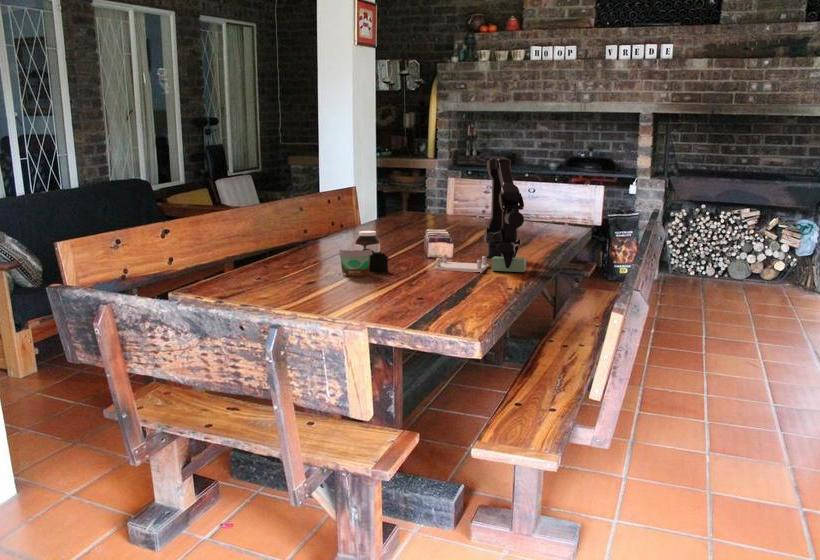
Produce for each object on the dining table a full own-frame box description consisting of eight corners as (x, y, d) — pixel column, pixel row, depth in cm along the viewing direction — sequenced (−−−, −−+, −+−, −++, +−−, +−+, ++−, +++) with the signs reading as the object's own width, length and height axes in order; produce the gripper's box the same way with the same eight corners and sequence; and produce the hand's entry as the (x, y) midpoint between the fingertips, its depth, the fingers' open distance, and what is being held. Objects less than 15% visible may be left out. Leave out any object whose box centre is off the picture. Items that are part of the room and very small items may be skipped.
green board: (494, 268, 275) (494, 256, 274) (526, 269, 271) (526, 257, 270) (491, 270, 270) (491, 258, 269) (523, 272, 266) (524, 259, 266)
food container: (340, 279, 257) (339, 251, 255) (338, 276, 263) (337, 249, 261) (375, 278, 260) (374, 250, 258) (372, 275, 266) (372, 247, 264)
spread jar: (381, 258, 302) (381, 230, 300) (377, 263, 291) (377, 234, 289) (352, 258, 304) (352, 230, 301) (347, 262, 292) (347, 233, 290)
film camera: (393, 270, 276) (393, 246, 274) (386, 275, 267) (385, 250, 265) (356, 268, 280) (355, 245, 278) (347, 273, 271) (346, 249, 269)
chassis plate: (442, 265, 284) (442, 254, 284) (488, 267, 279) (488, 256, 278) (434, 270, 273) (434, 259, 272) (481, 273, 268) (481, 261, 267)
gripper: (493, 221, 278) (492, 261, 281) (482, 227, 261) (482, 270, 264) (522, 222, 275) (521, 263, 278) (513, 228, 258) (512, 271, 261)
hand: (508, 266), depth 270 cm, fingers closed on green board, 5 cm apart
